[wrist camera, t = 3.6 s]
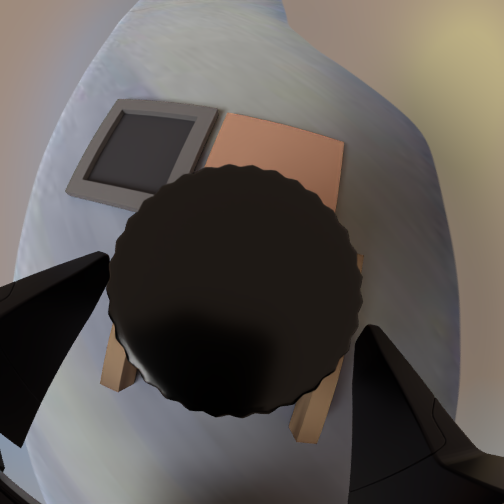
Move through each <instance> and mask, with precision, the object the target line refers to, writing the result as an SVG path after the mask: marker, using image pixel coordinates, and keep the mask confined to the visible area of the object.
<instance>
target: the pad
mask: <svg viewBox="0 0 504 504" xmlns="http://www.w3.org/2000/svg"><path fill="white" fill-rule="evenodd" d="M343 147H344V142H341V141H338V140H335V139H332V138H329V137H326V136H322V135H319V134H316V133H312V132H309V131H305V130H302V129H298V128H295V127H291V126H287V125H283V124H279V123H275V122H271V121H266V120H262V119H257V118H253V117H248V116H243V115H238V114H233V113H227V115H226V117H225V120H224V122H223V124H222V126H221V129H220V131H219V133H218V136H217V138H216V140H215V143H214V145H213V147H212V150H211V152H210V155H209V157H208V160H207V162H206V165H205V167H215V168H218V167H221V166H224V165H227V164H233V165H236V166H240V167H242V166H247V165H255V166H257V167H259V168H260V169H263V170H276V171H278V172H279V173H281V174H282V175H283V176H284V177H286V178H290V179H295V180H298V181H299V182H300V183H301V184H302V185H303V186H304V188H305V189H307V190H310V191H312V192H314V193H316V194H318V196H319V197H320V199H321V200H322V202H323V204H324V205H326V206H327V207H329V208H331V209H332V210H334V212H335V210H336V204H337V197H338V189H339V182H340V174H341V166H342V157H343ZM205 167H204V168H205Z"/></svg>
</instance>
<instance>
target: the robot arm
mask: <svg viewBox="0 0 504 504" xmlns="http://www.w3.org/2000/svg"><path fill="white" fill-rule="evenodd" d="M109 263H110V258H109V255H108V254H106V253H103V252H100V251H97V252H94V253H91V254H88V255H85V256H83V257H80V258H77V259H74V260H71V261H68V262H65V263H63V264H60V265H57V266H54V267H52V268H49V269H46V270H44V271H41V272H38V273H36V274H33V275H30V276H28V277H25V278H23V279H20V280H18V281H16V282H12V283H10V284H7V285H5V286H3V287H0V433H1V434H2V435H4V436H5V437H6V438H7V439H9V440H10V441H11V442H13V443H14V444H16V445H17V446H19V447H20V448H21V447H22V445H23V443H24V441H25V438H26V436H27V433H28V431H29V429H30V426H31V424H32V422H33V420H34V418H35V415H36V413H37V411H38V409H39V407H40V405H41V402H42V400H43V398H44V396H45V394H46V392H47V390H48V388H49V386H50V384H51V383H52V381H53V379H54V377H55V375H56V373H57V371H58V369H59V368H60V366H61V364H62V362H63V360H64V359H65V357H66V355H67V353H68V352H69V350H70V348H71V347H72V345H73V343H74V341H75V340H76V338H77V336H78V335H79V333H80V332H81V330H82V328H83V327H84V325H85V323H86V322H87V320H88V319H89V317H90V315H91V314H92V312H93V310H94V308H95V307H96V305H97V303H98V301H99V299H100V297H101V295H102V293H103V291H104V289H105V287H106V286H107V283H108V281H109V278H110V273H109ZM352 407H353V420H352V456H351V474H350V486H349V496H348V504H504V457H500V456H496V455H491V454H487V453H485V452H482V451H481V450H479V449H478V448H476V446H475V445H474V444H473V443H472V442H471V441H470V439H469V438H468V437H467V436H466V435H465V434H464V432H463V431H462V430H461V429H460V428H459V427H458V425H457V424H456V423H455V422H454V421H453V419H452V418H451V417H450V416H449V415H448V413H447V412H446V411H445V409H444V408H443V407H442V405H441V404H440V403H439V401H438V400H437V399H436V398H434V395H433V393H432V392H431V391H430V389H429V388H428V387H427V386H426V384H425V383H424V382H423V380H422V379H421V378H420V376H419V375H418V374H417V373H416V371H415V370H414V369H413V368H412V366H411V365H410V364H409V363H408V361H407V360H406V359H405V358H404V356H403V355H402V354H401V353H400V351H399V350H398V349H397V348H396V346H395V345H394V344H393V343H392V341H391V340H390V339H389V338H388V337H387V335H386V334H385V333H384V332H383V331H382V329H381V328H380V327H379V326H376V325H371V324H368V325H367V326H366V327H365V328H364V330H363V331H362V333H361V334H360V336H359V337H358V339H357V340H356V343H355V351H354V367H353V380H352ZM4 469H5V467H4V463H3V459H2V455H1V451H0V504H41V503H40V502H38V501H37V500H36V499H34V498H33V497H32V496H30V495H29V494H28V493H26V492H25V491H24V490H23V489H21V488H20V487H19V486H18V485H17V484H15V483H14V482H13V481H12V480H11V479H9V478H8V477H7V476H6V475H5V474H4V473H3V471H4Z"/></svg>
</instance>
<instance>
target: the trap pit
mask: <svg viewBox="0 0 504 504" xmlns="http://www.w3.org/2000/svg"><path fill="white" fill-rule="evenodd" d="M217 117H218V109H217V108H211V107H204V106H197V105H190V104H181V103H172V102H161V101H149V100H131V99H118V100H117V101H116V103H115V104H114V106H113V107H112V108H111V110H110V111H109V113H108V114H107V116H106V118H105V119H104V121H103V122H102V124H101V125H100V127H99V129H98V130H97V132H96V133H95V135H94V137H93V139H92V140H91V142H90V144H89V145H88V147H87V149H86V151H85V153H84V154H83V156H82V158H81V160H80V162H79V164H78V166H77V168H76V169H75V171H74V173H73V175H72V177H71V180H70V182H69V184H68V186H67V188H66V190H65V192H66V193H67V194H68V195H70V196H73V197H77V198H81V199H85V200H89V201H93V202H98V203H102V204H106V205H110V206H114V207H118V208H122V209H126V210H130V211H134V212H138V210H139V208H140V206H141V204H142V202H143V201H144V200H146V199H147V198H149V197H152V196H154V195H155V194H156V192H157V191H158V190H159V189H160V187H161V186H162V185H165V184H168V183H172V182H174V181H175V180H177V179H178V178H179V177H180V176H181V175H183V174H188V173H193V172H194V170H195V167H196V165H197V162H198V160H199V158H200V155H201V153H202V151H203V148H204V146H205V144H206V141H207V139H208V137H209V135H210V132H211V130H212V128H213V126H214V124H215V122H216V119H217Z"/></svg>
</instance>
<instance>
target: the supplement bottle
mask: <svg viewBox="0 0 504 504" xmlns="http://www.w3.org/2000/svg"><path fill="white" fill-rule="evenodd" d="M109 273H110V278H109V281H108V283H107V287H106V291H107V295H108V298H109V300H110V302H109V310H108V315H109V317H110V319H111V321H112V322H113V324H114V326H115V338H116V340H117V341H118V342H119V344H120V345H121V346H122V347H123V348H124V350H125V354H126V358H127V360H128V362H129V363H130V364H131V365H133V366H134V367H135V368H137V369H138V370H139V372H140V373H141V376H142V378H143V380H144V381H145V382H146V383H148V384H150V385H152V386H154V387H157V388H158V389H159V391H160V392H161V394H162V395H163V396H164V397H165V398H166V399H169V400H173V401H178V402H180V403H181V404H182V405H183V406H184V407H185V408H187V409H188V410H189V411H204V412H205V413H207V414H209V415H211V416H214V417H222V416H225V415H231V416H234V417H238V418H245V417H248V416H250V415H252V414H254V413H258V414H270V413H271V412H273V411H275V410H276V409H277V408H278V407H280V406H288V405H293V404H295V403H296V402H297V401H298V400H299V399H300V398H301V397H302V396H303V395H304V394H307V393H310V392H313V391H315V390H316V389H317V388H318V387H319V385H320V383H321V381H322V380H323V379H324V378H326V377H327V376H329V375H331V374H332V373H333V372H335V370H336V367H337V365H338V362H339V359H340V358H341V357H343V356H344V355H345V354H346V353H347V352H348V351H349V347H350V340H351V337H352V335H353V334H354V333H355V331H356V329H357V328H358V312H359V310H360V308H361V305H362V303H363V300H362V295H361V292H360V287H361V283H362V275H361V272H360V270H359V268H358V266H357V252H356V250H355V249H354V247H353V246H352V245H351V244H350V240H349V235H348V231H347V230H346V229H345V227H344V226H342V225H341V224H340V223H339V222H338V219H337V216H336V214H335V212H334V210H332V209H331V208H329V207H327V206H326V205H324V204H323V202H322V200H321V199H320V197H319V196H318V194H316V193H314V192H312V191H310V190H307V189H305V188H304V186H303V185H302V184H301V183H300V182H299V181H298V180H295V179H290V178H286V177H284V176H283V175H282V174H281V173H279V172H278V171H276V170H263V169H260V168H259V167H257V166H255V165H247V166H242V167H240V166H236V165H233V164H227V165H224V166H221V167H218V168H215V167H205V168H203V169H201V170H199V171H197V172H196V173H188V174H183V175H181V176H180V177H179V178H178V179H177V180H175V181H174V182H172V183H168V184H165V185H162V186H161V187H160V189H159V190H158V191H157V192H156V194H155V195H154V196H152V197H149V198H147V199H146V200H144V201H143V202H142V204H141V206H140V208H139V210H138V212H136V213H135V214H134V215H132V216H131V217H130V218H129V219H128V221H127V224H126V227H125V231H124V232H123V233H122V235H120V236H119V238H118V239H117V240H116V246H115V254H114V256H113V257H112V259H111V261H110V263H109Z"/></svg>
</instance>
